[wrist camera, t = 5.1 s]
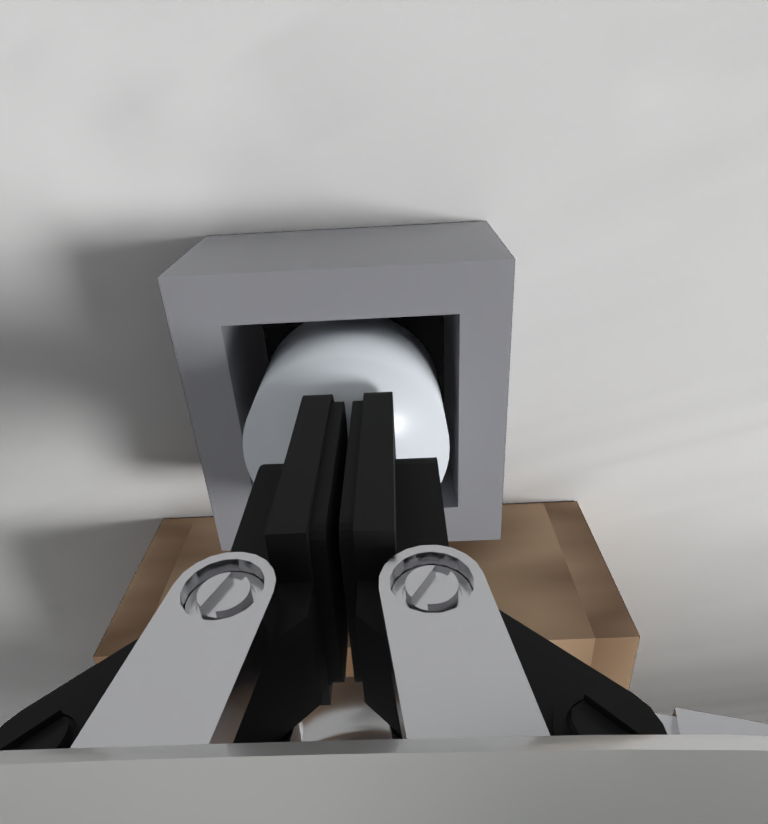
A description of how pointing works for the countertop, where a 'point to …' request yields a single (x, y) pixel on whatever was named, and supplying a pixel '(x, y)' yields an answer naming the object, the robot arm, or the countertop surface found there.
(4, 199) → the countertop surface
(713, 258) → the countertop surface
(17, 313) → the countertop surface
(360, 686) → the plastic bottle
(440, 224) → the button housing
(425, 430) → the white domed push button
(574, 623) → the walnut bottle rack
